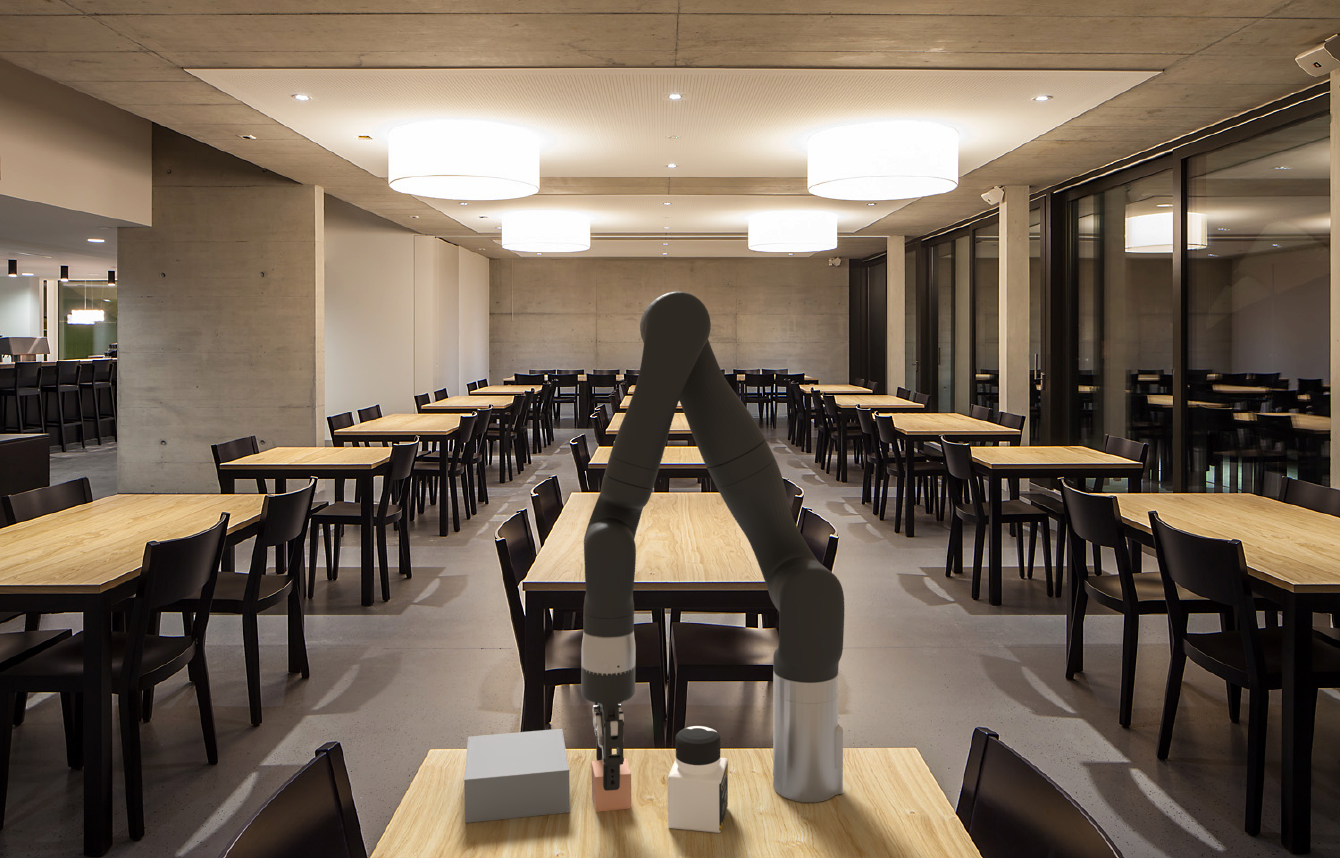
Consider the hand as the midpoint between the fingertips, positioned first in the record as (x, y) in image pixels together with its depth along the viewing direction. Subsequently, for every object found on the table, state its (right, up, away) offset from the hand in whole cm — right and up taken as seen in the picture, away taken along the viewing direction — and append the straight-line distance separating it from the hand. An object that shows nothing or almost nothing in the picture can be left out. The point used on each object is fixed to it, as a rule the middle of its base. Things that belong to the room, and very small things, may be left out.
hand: (607, 775), depth 123 cm
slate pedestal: (-13, -4, +3) cm, 14 cm away
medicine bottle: (+13, -4, -4) cm, 14 cm away
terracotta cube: (+1, -4, 0) cm, 4 cm away
